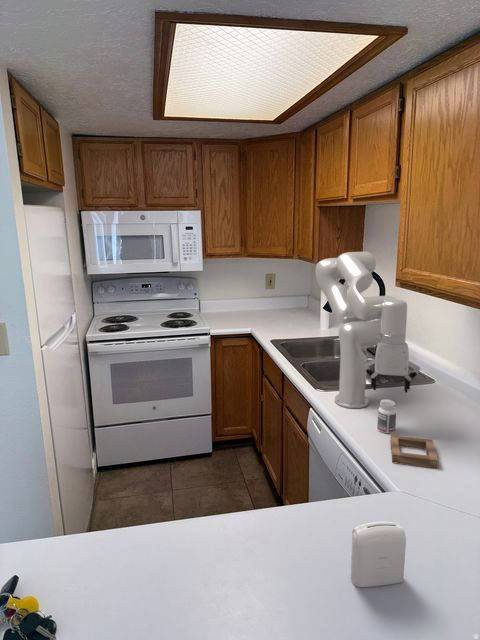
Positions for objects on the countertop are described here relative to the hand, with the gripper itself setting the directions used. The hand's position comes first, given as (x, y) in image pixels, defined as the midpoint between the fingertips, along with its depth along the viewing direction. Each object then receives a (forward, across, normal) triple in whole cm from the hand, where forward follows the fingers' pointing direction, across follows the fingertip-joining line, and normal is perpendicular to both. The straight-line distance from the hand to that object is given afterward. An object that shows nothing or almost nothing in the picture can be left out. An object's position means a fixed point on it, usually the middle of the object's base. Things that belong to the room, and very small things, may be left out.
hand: (389, 389), depth 139 cm
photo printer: (+16, -4, -63) cm, 65 cm away
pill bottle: (+15, 0, +1) cm, 15 cm away
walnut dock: (+15, +6, -13) cm, 21 cm away
